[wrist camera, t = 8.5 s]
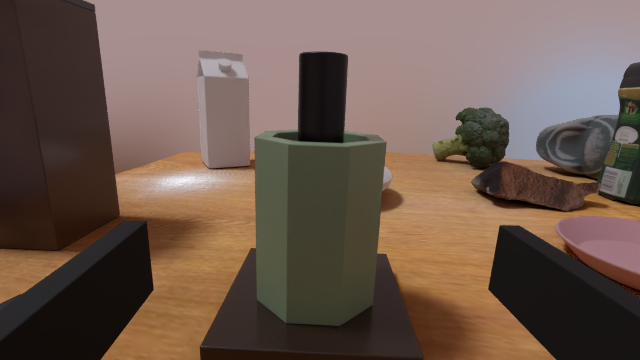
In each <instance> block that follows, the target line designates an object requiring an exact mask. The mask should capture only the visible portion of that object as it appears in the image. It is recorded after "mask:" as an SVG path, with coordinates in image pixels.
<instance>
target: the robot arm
mask: <svg viewBox="0 0 640 360" xmlns="http://www.w3.org/2000/svg"><path fill="white" fill-rule="evenodd" d="M488 289H489V290H490V292H491V293H492V294H493V295H494V296H495V297H496V298H497V299H498V300H499V301H500V302H501V303H502V304H503V305H504V306H505V307H506V308H507V309H508V310H509V311H510V312H511V313H512V314H513V315H514V316H515V317H516V318H517V319H518V320H519V322H520V323H521V324H522V325H523V326H524V327H525V328H526V329H527V330H528V331H529V332H530V333H531V334H532V335H533V336H534V337H535V338H536V339H537V340H538V341H539V342H540V343H541V344H542V345H543V346H544V347H545V348H546V349H547V350H548V352H549V353H550V354H551V355H552V356H553V357H554V358H555V359H556V360H640V298H639V297H638V296H636V295H634V294H633V293H631V292H629V291H628V290H626V289H624V288H623V287H621V286H619V285H618V284H616V283H614V282H613V281H611V280H609V279H608V278H606V277H604V276H603V275H601V274H599V273H597V272H596V271H594V270H592V269H591V268H589V267H587V266H586V265H584V264H582V263H581V262H579V261H577V260H576V259H574V258H572V257H571V256H569V255H567V254H566V253H564V252H562V251H561V250H559V249H557V248H556V247H554V246H552V245H551V244H549V243H547V242H546V241H544V240H542V239H541V238H539V237H537V236H536V235H534V234H532V233H530V232H529V231H527V230H525V229H524V228H522V227H520V226H506V225H500V227H499V233H498V238H497V244H496V249H495V255H494V261H493V266H492V272H491V277H490V283H489V288H488ZM153 290H154V289H153V279H152V269H151V259H150V250H149V240H148V230H147V221H124V222H123V223H121V224H120V225H118V226H117V227H116V228H114V229H113V230H111V231H110V232H109V233H107V234H106V235H104V236H103V237H102V238H100V239H99V240H97V241H96V242H95V243H93V244H92V245H90V246H89V247H88V248H86V249H85V250H83V251H82V252H81V253H79V254H78V255H76V256H75V257H74V258H72V259H71V260H69V261H68V262H67V263H65V264H64V265H62V266H61V267H60V268H58V269H57V270H55V271H54V272H53V273H51V274H50V275H48V276H47V277H46V278H44V279H43V280H41V281H40V282H39V283H37V284H36V285H34V286H33V287H32V288H30V289H29V290H27V291H26V292H25V293H23V294H20V295H18V296H16V297H13V298H11V299H9V300H7V301H5V302H3V303H1V304H0V360H101V358H102V357H103V356H104V354H105V353H106V352H107V351H108V349H109V348H110V347H111V345H112V344H113V343H114V341H115V340H116V339H117V337H118V336H119V335H120V333H121V332H122V331H123V329H124V328H125V327H126V325H127V324H128V323H129V321H130V320H131V319H132V318H133V316H134V315H135V314H136V312H137V311H138V310H139V308H140V307H141V306H142V304H143V303H144V302H145V300H146V299H147V298H148V296H149V295H150V294H151V292H152V291H153Z"/></svg>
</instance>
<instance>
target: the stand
mask: <svg viewBox="0 0 640 360" xmlns="http://www.w3.org/2000/svg"><path fill="white" fill-rule="evenodd" d="M106 105H107V104H106V97H105V88H104V80H103V72H102V63H101V55H100V47H99V39H98V31H97V22H96V14H95V6H94V4H91V3H89V2H86V1H83V0H0V248H16V249H38V250H60V249H61V248H63V247H65V246H67V245H68V244H70V243H72V242H74V241H75V240H77V239H79V238H81V237H83V236H84V235H86V234H88V233H90V232H91V231H93V230H95V229H97V228H98V227H100V226H102V225H104V224H105V223H107V222H109V221H111V220H113V219H114V218H116V217H118V216H120V211H119V203H118V195H117V187H116V179H115V170H114V162H113V154H112V146H111V137H110V129H109V121H108V114H107V106H106Z"/></svg>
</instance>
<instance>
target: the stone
mask: <svg viewBox="0 0 640 360" xmlns="http://www.w3.org/2000/svg"><path fill="white" fill-rule="evenodd" d="M471 183H472V184H473V186H474V187H475V188H476V189H477V190H480V191H482V192H485V193H488V194H489V195H493V196H495V197H498V198H503V199H506V200H511V199H515V200H521V201H526V202H529V203H533V204H539V205H544V206H547V207H553V208H556V209H561V210H563V211H569V210H573V209H577V208H578V207H580V206H582V205H583V203H584V197H585V196H586V195H589V194H592V193H597V192H598V191H599V190H600V189H601V187H602V186H601V184H600V183H581V184H575V183H573V182H570V181H565V180H561V179H557V178H555V177H548V176H544V175H541V174H538V173H535V172H533V171H531V170H529V169H527V168H524V167H521V166H516V165H514V164H511V163H508V162H496V163H494V164H493V165H491V166H490V167H488V168H487V169H486V170H485V171H484V172H482V173H480V174H479V175H478V176H476V177H475V178H474V179H473V180H472V181H471Z"/></svg>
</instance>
